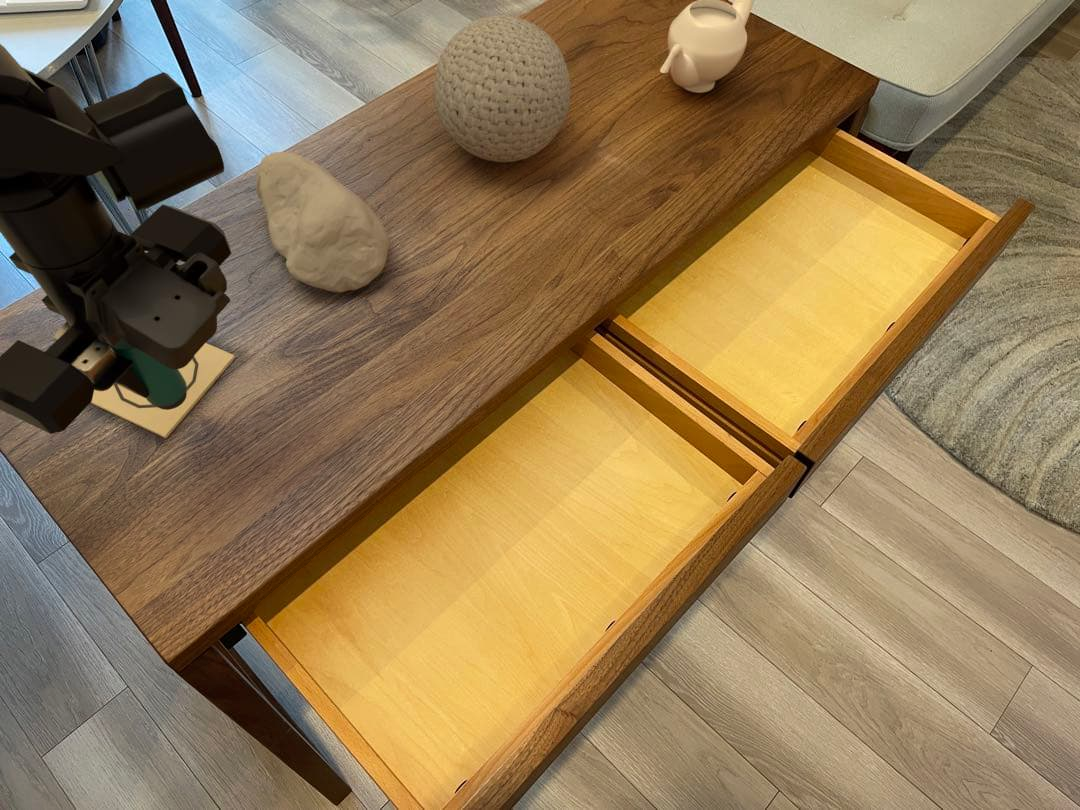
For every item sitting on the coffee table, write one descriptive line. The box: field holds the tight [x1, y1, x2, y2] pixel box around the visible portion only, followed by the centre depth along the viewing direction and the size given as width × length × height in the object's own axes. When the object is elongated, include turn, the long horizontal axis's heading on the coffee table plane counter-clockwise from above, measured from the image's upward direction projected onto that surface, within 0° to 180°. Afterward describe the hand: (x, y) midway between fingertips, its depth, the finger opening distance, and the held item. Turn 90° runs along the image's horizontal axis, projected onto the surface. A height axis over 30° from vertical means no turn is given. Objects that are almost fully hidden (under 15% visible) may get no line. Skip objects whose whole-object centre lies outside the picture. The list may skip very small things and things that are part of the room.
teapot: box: [659, 0, 755, 94], centre depth 97 cm, size 10×20×9 cm, turn 140°
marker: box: [109, 338, 187, 410], centre depth 60 cm, size 3×3×8 cm
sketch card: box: [90, 342, 236, 439], centre depth 73 cm, size 10×10×1 cm
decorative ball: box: [433, 14, 572, 163], centre depth 86 cm, size 15×15×15 cm
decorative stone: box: [255, 151, 391, 293], centre depth 80 cm, size 17×10×10 cm
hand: (157, 378), depth 62 cm, fingers closed on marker, 3 cm apart
